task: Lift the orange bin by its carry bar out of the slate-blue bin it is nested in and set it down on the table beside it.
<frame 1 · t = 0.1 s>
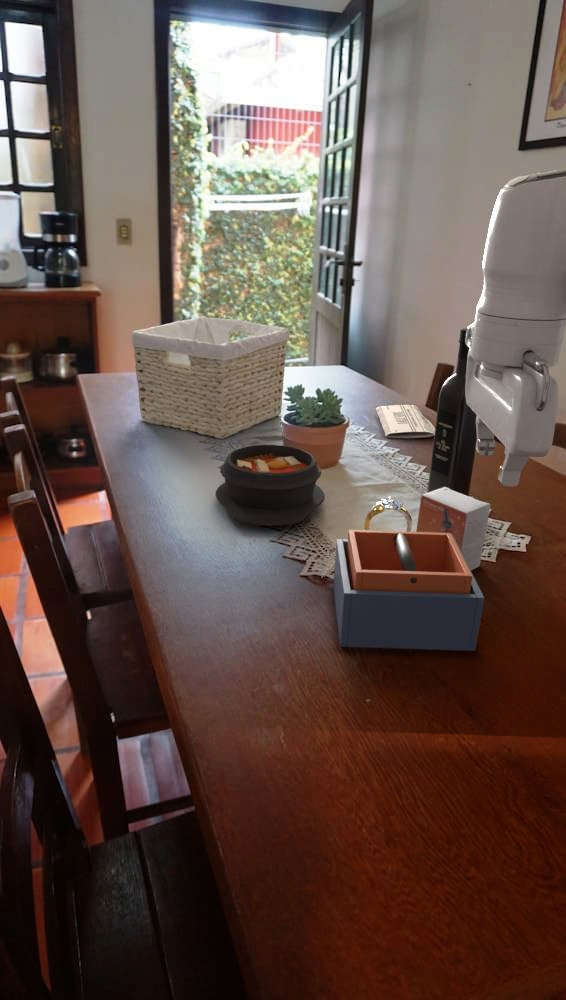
hand: (495, 468, 76), 21 cm above the table, tool pointing down, fingers open, 8 cm apart
wine bottle: (446, 504, 120), on the table
ring: (385, 548, 103), on the table
small box: (445, 566, 99), on the table
lower bin: (398, 621, 85), on the table
newspaper: (405, 425, 163), on the table
basket: (212, 420, 162), on the table
casserole: (269, 505, 117), on the table
orange bin: (399, 615, 85), point 1 cm above the table, touching lower bin
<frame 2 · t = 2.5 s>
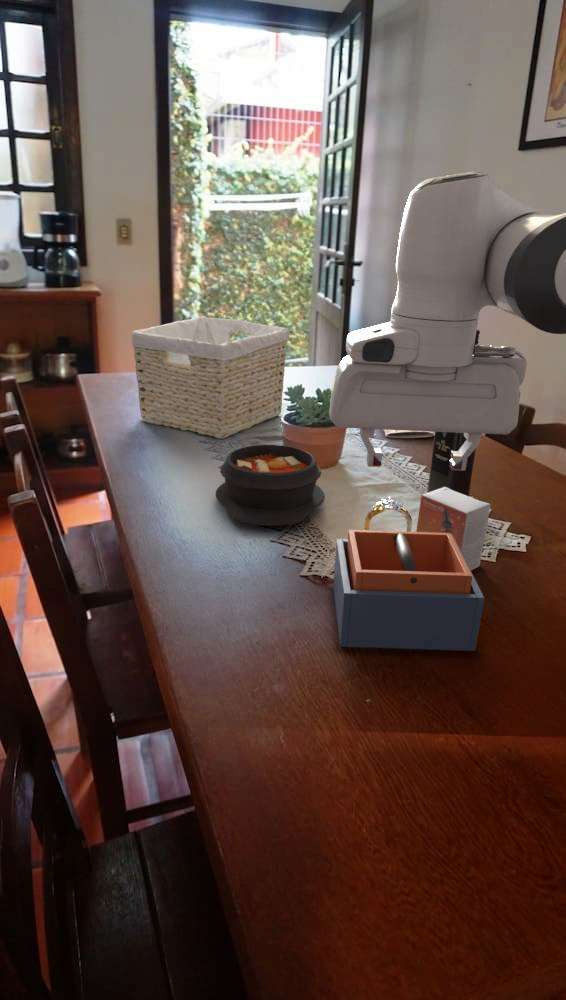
hand: (415, 466, 77), 20 cm above the table, tool pointing down, fingers open, 8 cm apart
nothing on the table moved.
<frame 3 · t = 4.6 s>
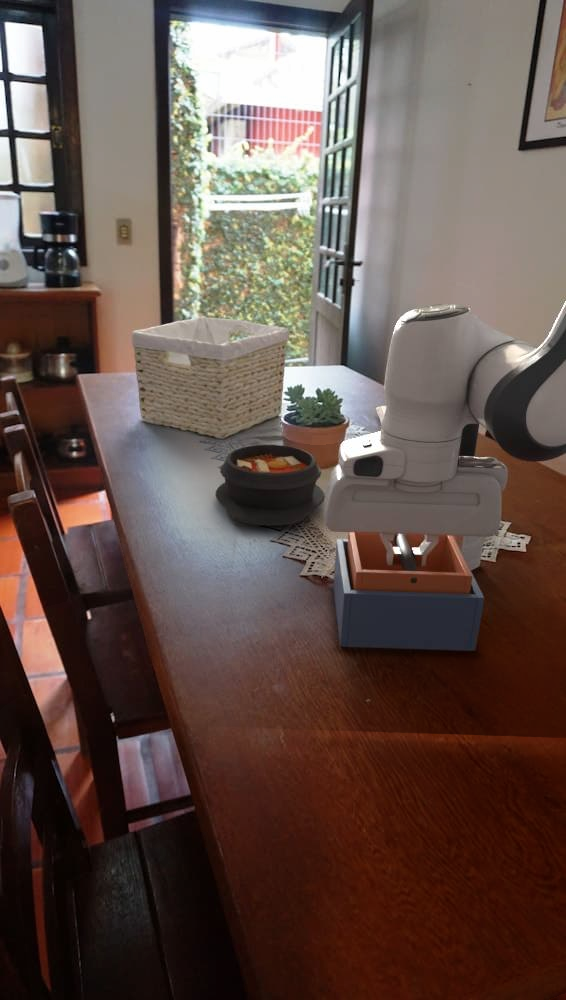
hand: (405, 563, 82), 8 cm above the table, tool pointing down, fingers closed on orange bin
orange bin: (399, 615, 85), point 1 cm above the table, touching gripper, lower bin
everything else where it was.
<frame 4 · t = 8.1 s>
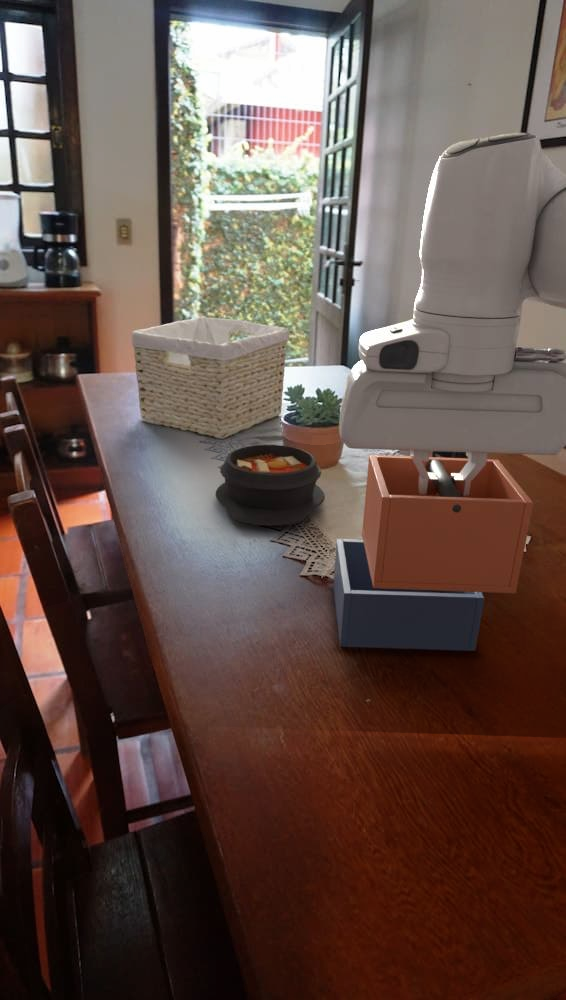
hand: (442, 493, 64), 23 cm above the table, tool pointing down, fingers closed on orange bin
orange bin: (433, 562, 67), point 15 cm above the table, touching gripper
everything else where it was.
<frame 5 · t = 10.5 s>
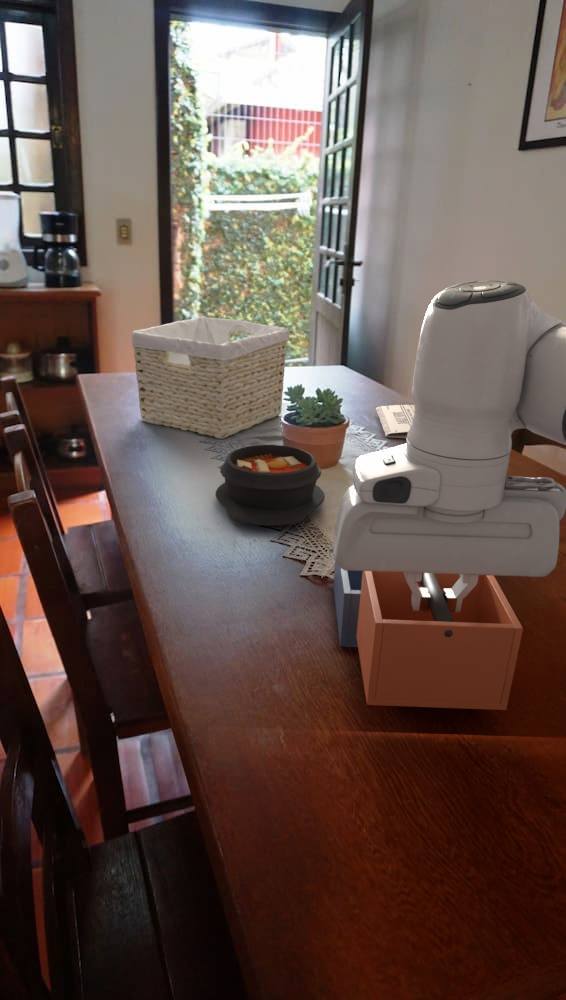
hand: (434, 608, 66), 12 cm above the table, tool pointing down, fingers closed on orange bin
orange bin: (425, 670, 68), point 5 cm above the table, touching gripper
everything else where it was.
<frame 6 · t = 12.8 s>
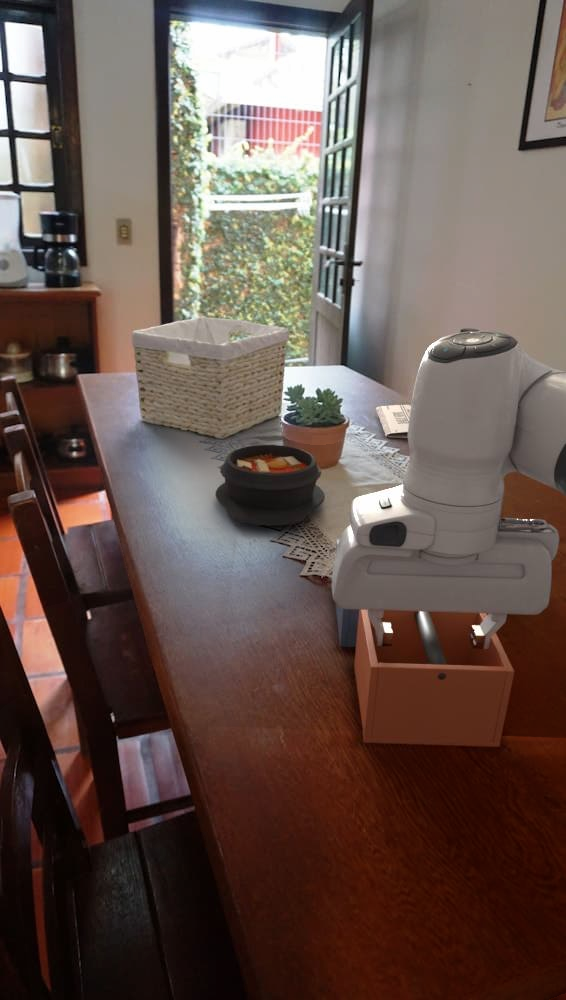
hand: (430, 644, 67), 8 cm above the table, tool pointing down, fingers open, 8 cm apart
orange bin: (421, 707, 70), on the table
everything else where it was.
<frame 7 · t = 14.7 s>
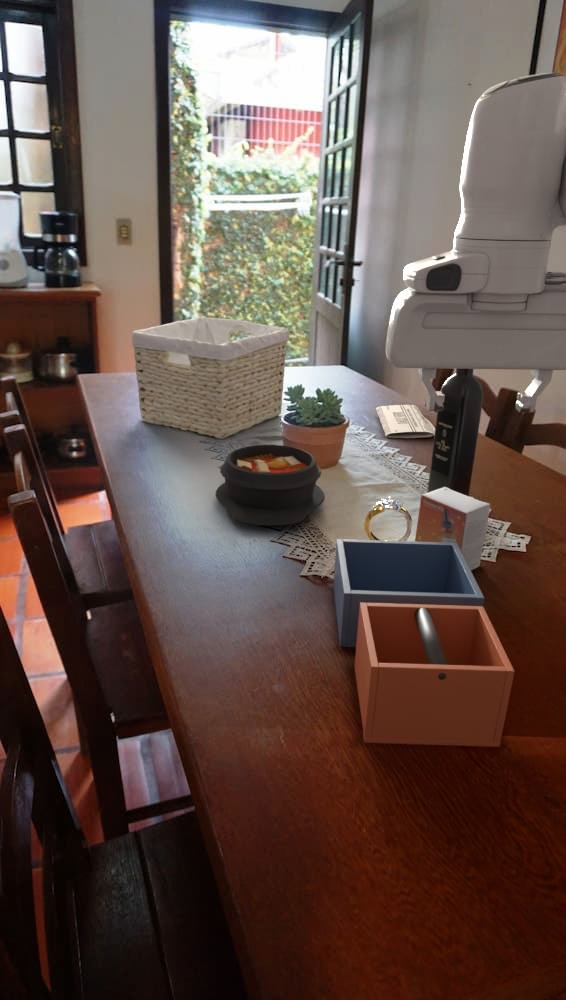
hand: (479, 410, 71), 28 cm above the table, tool pointing down, fingers open, 8 cm apart
nothing on the table moved.
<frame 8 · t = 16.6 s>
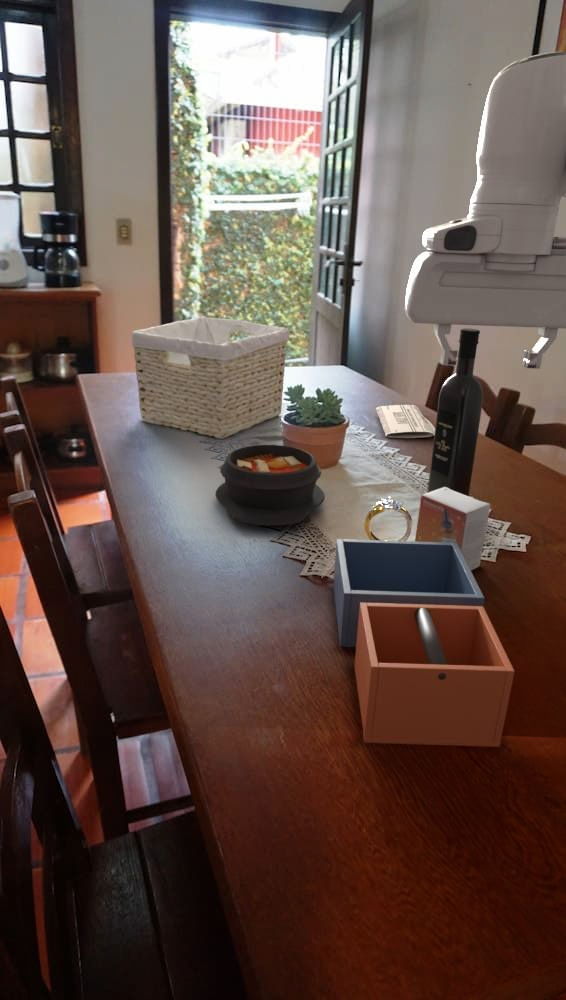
hand: (489, 366, 77), 31 cm above the table, tool pointing down, fingers open, 8 cm apart
nothing on the table moved.
at the end: orange bin inside the target area (0.0 cm from its centre), on the table; orange bin tilted 0°; orange bin touching table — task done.
